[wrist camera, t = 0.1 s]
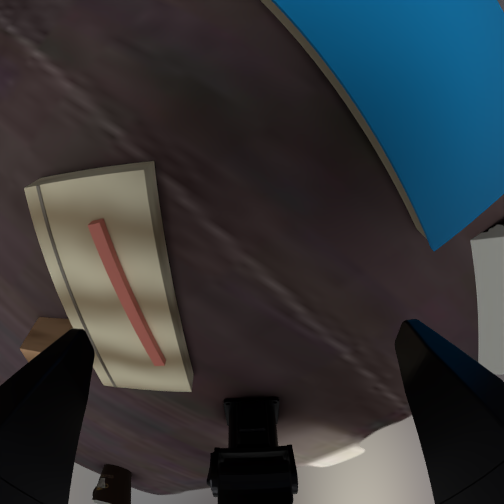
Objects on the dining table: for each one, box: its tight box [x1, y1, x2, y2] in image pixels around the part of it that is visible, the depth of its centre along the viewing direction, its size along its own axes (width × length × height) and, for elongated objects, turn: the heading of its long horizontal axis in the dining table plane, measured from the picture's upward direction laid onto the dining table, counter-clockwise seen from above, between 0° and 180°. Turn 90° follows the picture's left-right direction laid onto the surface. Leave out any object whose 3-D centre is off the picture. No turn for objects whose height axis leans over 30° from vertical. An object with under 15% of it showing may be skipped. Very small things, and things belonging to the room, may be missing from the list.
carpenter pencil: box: [88, 219, 166, 366], centre depth 22 cm, size 14×1×1 cm, turn 9°
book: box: [260, 0, 504, 251], centre depth 14 cm, size 17×4×25 cm
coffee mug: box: [92, 464, 131, 504], centre depth 45 cm, size 12×9×10 cm
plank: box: [24, 161, 194, 392], centre depth 24 cm, size 22×10×2 cm, turn 1°
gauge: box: [20, 317, 73, 362], centre depth 25 cm, size 5×5×6 cm
